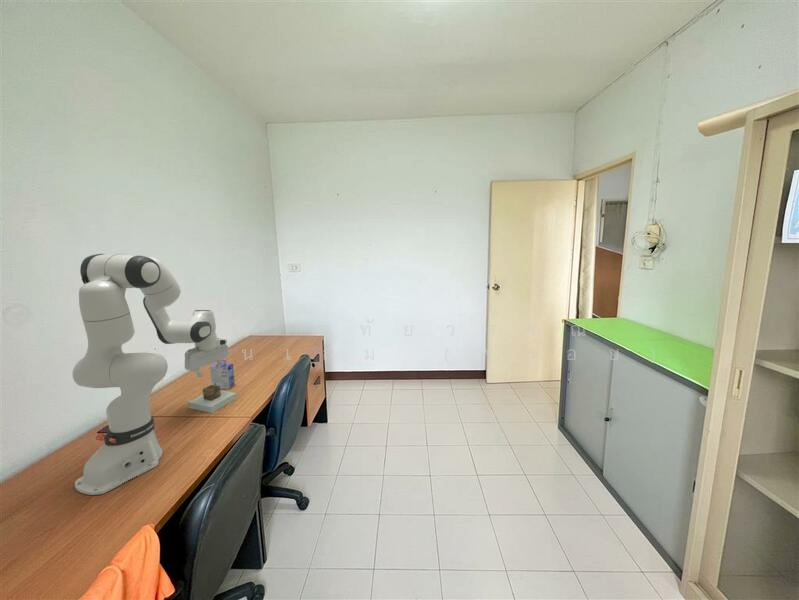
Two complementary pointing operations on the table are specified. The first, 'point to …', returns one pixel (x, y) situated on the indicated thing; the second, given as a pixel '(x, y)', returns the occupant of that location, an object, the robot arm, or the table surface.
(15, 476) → the table surface
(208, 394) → the walnut cube
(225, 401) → the base
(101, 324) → the robot arm
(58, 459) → the table surface
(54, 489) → the table surface
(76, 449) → the table surface
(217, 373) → the ink cartridge box
